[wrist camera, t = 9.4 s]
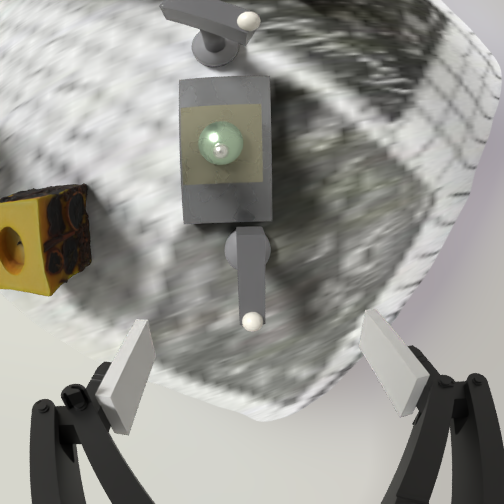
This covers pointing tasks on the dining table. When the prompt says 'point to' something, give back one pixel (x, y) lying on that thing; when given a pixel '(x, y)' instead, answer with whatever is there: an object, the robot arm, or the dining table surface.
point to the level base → (225, 149)
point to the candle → (43, 238)
